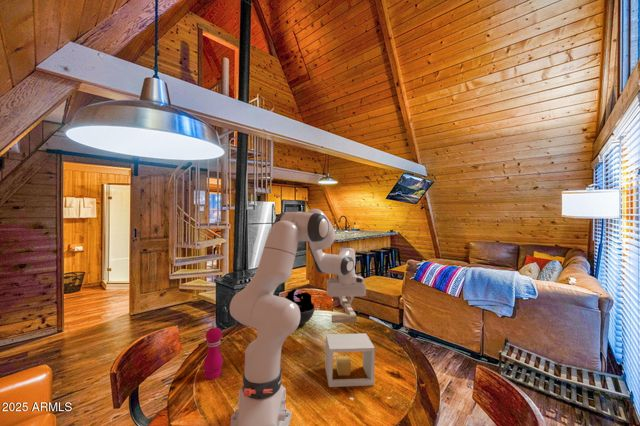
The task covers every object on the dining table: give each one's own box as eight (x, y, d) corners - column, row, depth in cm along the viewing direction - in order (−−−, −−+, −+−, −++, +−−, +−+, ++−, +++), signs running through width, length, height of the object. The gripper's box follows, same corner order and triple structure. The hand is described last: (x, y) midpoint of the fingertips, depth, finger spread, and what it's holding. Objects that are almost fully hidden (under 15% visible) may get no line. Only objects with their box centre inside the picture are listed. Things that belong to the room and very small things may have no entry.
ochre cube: (350, 375, 108) (350, 362, 108) (338, 375, 107) (338, 363, 107) (348, 368, 113) (348, 356, 113) (336, 368, 112) (336, 356, 112)
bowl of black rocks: (313, 331, 147) (314, 297, 147) (277, 330, 147) (278, 296, 147) (314, 317, 167) (315, 287, 167) (283, 316, 167) (283, 286, 167)
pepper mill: (215, 381, 102) (217, 329, 102) (199, 378, 103) (200, 327, 103) (226, 370, 109) (227, 321, 109) (210, 368, 110) (211, 319, 110)
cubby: (374, 385, 101) (374, 347, 102) (328, 387, 100) (329, 349, 100) (365, 366, 114) (366, 333, 114) (325, 367, 112) (325, 334, 112)
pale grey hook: (359, 322, 119) (359, 315, 119) (332, 322, 118) (332, 316, 118) (344, 297, 154) (344, 292, 154) (323, 297, 153) (323, 292, 153)
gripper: (327, 279, 133) (326, 307, 133) (367, 279, 135) (366, 306, 135) (325, 276, 140) (325, 302, 140) (363, 276, 142) (363, 302, 142)
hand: (345, 304), depth 138 cm, fingers closed on pale grey hook, 2 cm apart
